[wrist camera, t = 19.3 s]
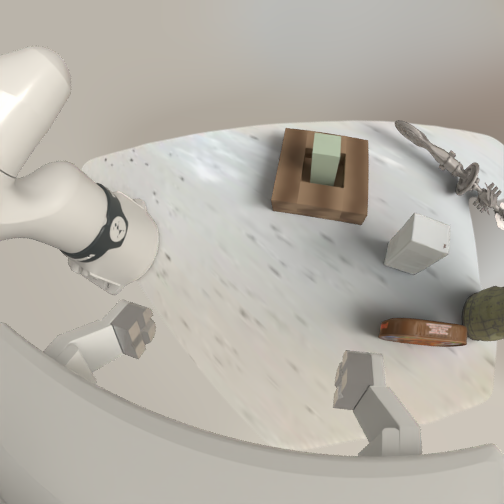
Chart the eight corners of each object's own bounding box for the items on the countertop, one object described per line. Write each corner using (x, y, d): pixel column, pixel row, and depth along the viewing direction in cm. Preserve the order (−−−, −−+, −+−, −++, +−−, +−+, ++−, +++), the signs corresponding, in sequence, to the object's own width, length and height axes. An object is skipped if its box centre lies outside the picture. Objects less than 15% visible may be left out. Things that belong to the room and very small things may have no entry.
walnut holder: (272, 210, 46) (271, 199, 42) (286, 141, 50) (285, 128, 46) (361, 225, 43) (367, 215, 39) (363, 153, 47) (368, 140, 43)
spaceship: (406, 101, 40) (401, 111, 36) (526, 210, 34) (532, 233, 30) (389, 131, 47) (382, 144, 43) (504, 231, 41) (507, 254, 37)
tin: (371, 338, 38) (389, 339, 30) (374, 318, 39) (393, 314, 31) (448, 347, 35) (475, 348, 27) (451, 329, 36) (479, 326, 28)
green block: (309, 184, 46) (312, 152, 37) (312, 165, 46) (314, 132, 38) (333, 187, 45) (340, 157, 36) (334, 168, 46) (341, 136, 37)
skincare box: (418, 251, 41) (451, 225, 29) (414, 275, 40) (449, 255, 28) (387, 241, 42) (414, 211, 31) (382, 265, 41) (410, 241, 30)
